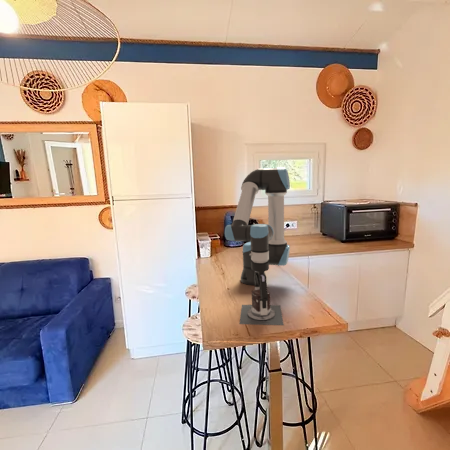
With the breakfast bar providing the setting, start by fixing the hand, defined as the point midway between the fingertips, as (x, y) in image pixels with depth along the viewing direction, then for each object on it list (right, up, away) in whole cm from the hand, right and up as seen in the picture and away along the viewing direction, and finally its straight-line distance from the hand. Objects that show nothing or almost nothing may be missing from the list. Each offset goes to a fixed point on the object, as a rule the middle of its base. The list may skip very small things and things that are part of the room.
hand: (260, 307), depth 121 cm
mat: (0, -4, +1) cm, 4 cm away
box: (0, 0, 0) cm, 0 cm away
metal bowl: (0, -3, 0) cm, 3 cm away
